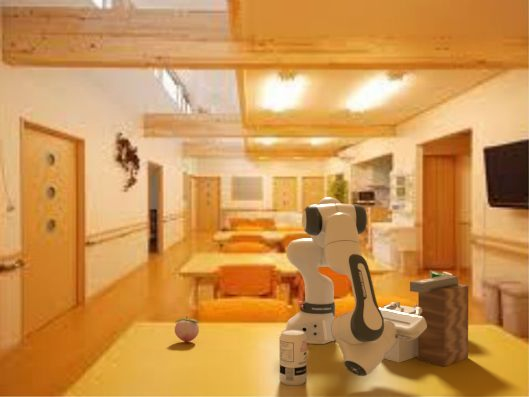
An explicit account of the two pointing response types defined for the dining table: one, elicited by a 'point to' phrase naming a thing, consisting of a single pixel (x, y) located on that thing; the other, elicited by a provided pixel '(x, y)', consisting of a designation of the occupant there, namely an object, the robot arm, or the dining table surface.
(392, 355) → the dock
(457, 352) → the stand
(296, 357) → the supplement can
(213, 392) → the dining table surface
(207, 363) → the dining table surface
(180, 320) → the decorative fruit
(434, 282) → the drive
